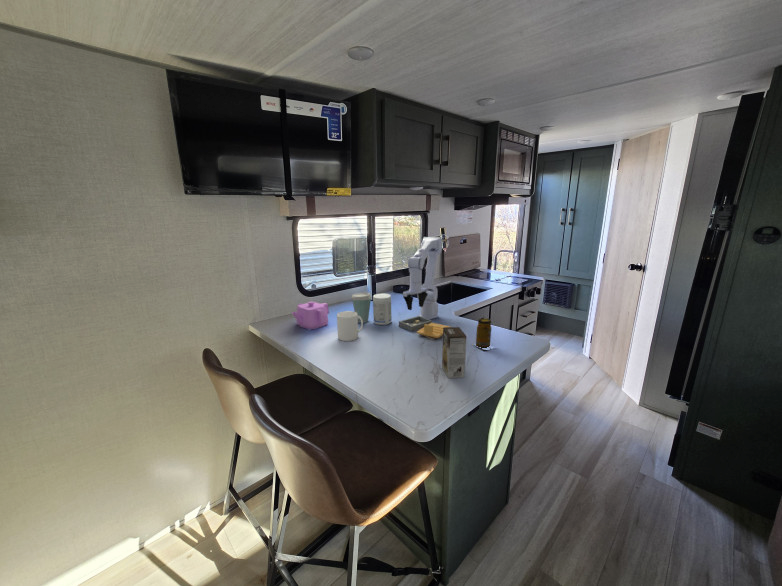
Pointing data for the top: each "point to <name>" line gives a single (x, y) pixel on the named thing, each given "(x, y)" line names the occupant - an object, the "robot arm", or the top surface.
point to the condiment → (483, 333)
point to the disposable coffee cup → (362, 305)
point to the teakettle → (312, 315)
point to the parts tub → (414, 323)
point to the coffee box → (454, 352)
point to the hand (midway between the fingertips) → (415, 308)
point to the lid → (432, 330)
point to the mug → (348, 325)
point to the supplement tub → (382, 309)
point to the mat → (431, 337)
